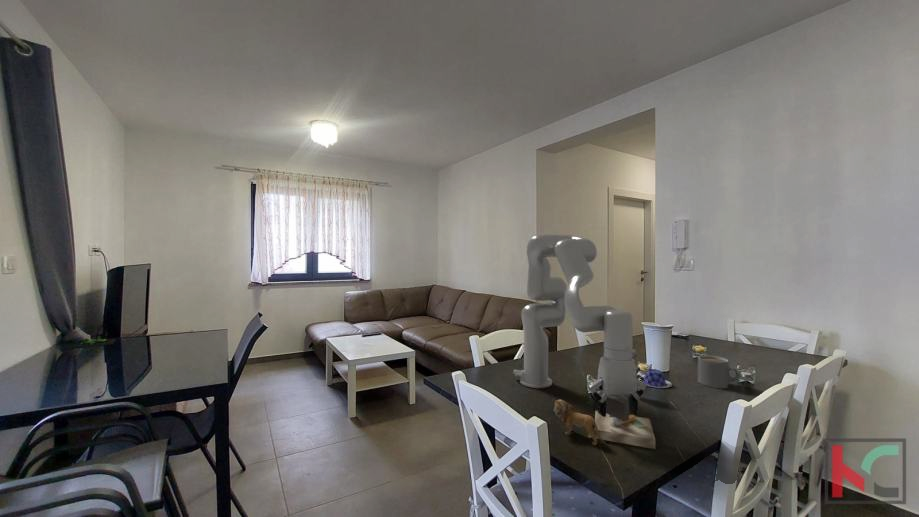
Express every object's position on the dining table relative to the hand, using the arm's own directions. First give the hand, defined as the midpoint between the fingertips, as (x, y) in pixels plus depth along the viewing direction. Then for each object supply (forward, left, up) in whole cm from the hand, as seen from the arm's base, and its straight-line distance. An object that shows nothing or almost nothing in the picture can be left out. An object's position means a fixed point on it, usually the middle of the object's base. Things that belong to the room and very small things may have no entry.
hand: (617, 413), depth 103 cm
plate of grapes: (+16, +50, -6) cm, 52 cm away
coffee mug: (+38, +57, -6) cm, 69 cm away
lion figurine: (-11, -5, -6) cm, 14 cm away
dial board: (+1, +2, -6) cm, 6 cm away
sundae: (+5, +33, -6) cm, 34 cm away
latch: (+2, +2, -3) cm, 4 cm away
